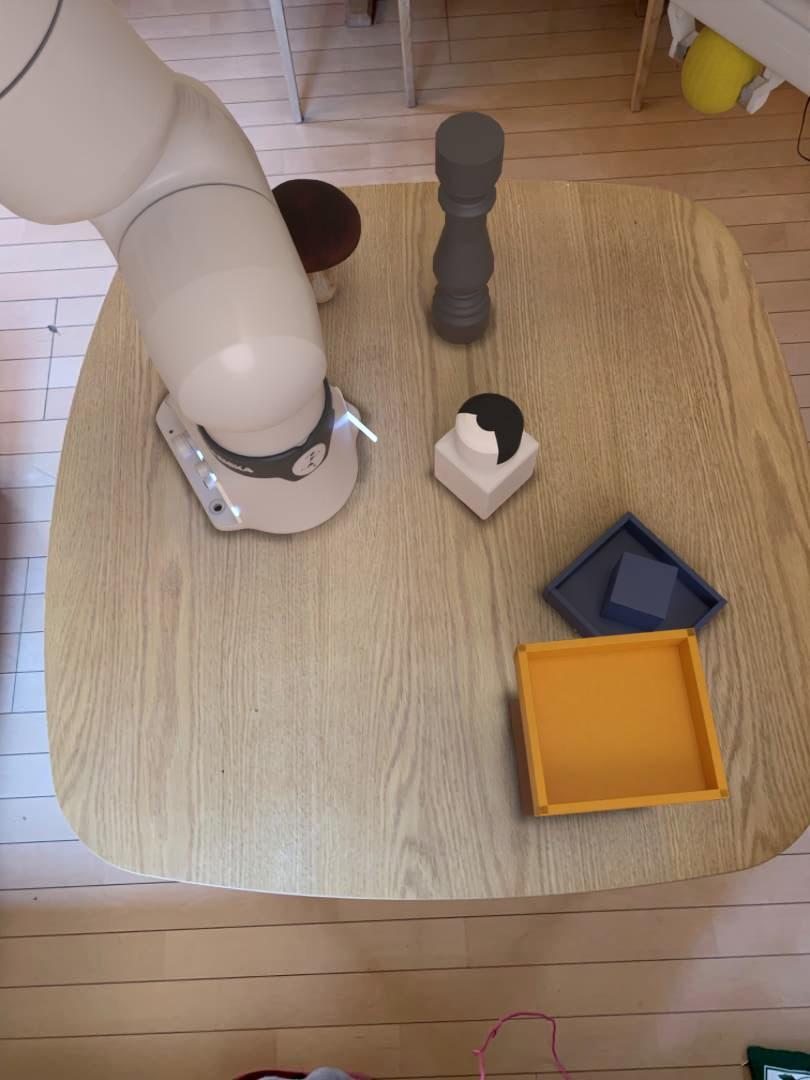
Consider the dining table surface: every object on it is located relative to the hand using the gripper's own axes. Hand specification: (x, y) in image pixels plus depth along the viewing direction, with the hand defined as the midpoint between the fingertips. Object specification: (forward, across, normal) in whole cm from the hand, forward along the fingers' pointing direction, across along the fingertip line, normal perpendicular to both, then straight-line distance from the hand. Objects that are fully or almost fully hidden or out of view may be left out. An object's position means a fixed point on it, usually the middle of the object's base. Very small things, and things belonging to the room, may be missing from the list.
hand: (715, 81), depth 66 cm
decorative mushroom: (+28, -24, -24) cm, 44 cm away
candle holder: (+28, -11, -15) cm, 34 cm away
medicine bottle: (+28, +4, -26) cm, 39 cm away
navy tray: (+28, +23, -25) cm, 44 cm away
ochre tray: (+28, +29, -39) cm, 56 cm away
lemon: (+3, 0, 0) cm, 3 cm away
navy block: (+28, +23, -25) cm, 44 cm away
